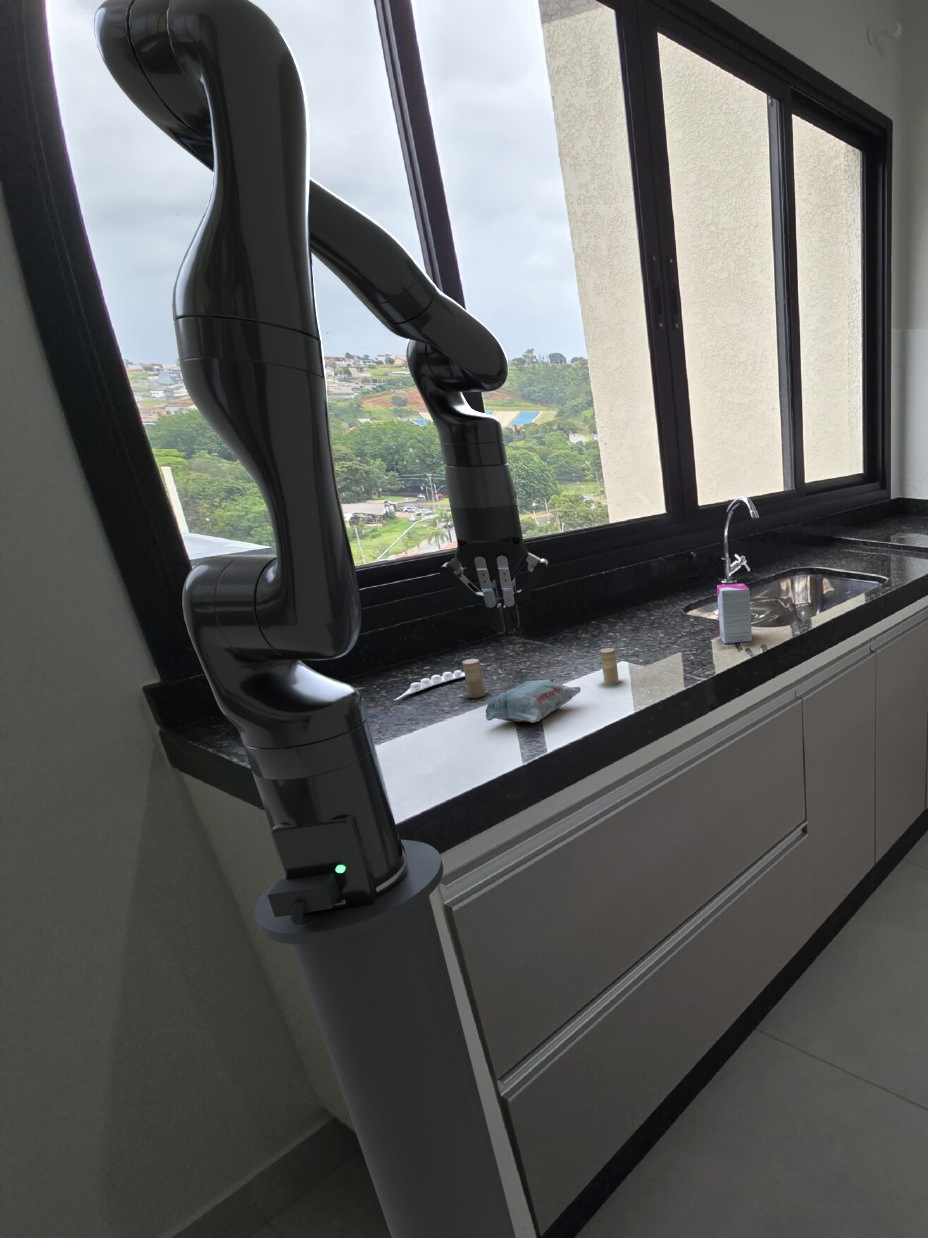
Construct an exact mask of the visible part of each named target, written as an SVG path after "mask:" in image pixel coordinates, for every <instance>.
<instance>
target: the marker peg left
mask: <svg viewBox="0 0 928 1238" xmlns="http://www.w3.org/2000/svg"><path fill="white" fill-rule="evenodd" d="M462 668H463V672H464V674H465V677H464V679H465V683H466V688H467V694H468V697H469V698H471V699H477V698H481V697H484V696H485V695H486V689H485V683H484V678H483V673H482V668H481V664H480V659H478V658H470V659H469V658H468V659H465V660H463V661H462Z"/></svg>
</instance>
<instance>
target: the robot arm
mask: <svg viewBox="0 0 928 1238" xmlns="http://www.w3.org/2000/svg"><path fill="white" fill-rule="evenodd" d="M93 33H94V38H95V41H96V42H95V43H96V47H97V49H98V51H99V55H100V57H101V59H102V61H103V63H104V65H105V67H106V69H107V70H108V72H109V74H110V75H111V77H112V79H113V80H114V82H115V83H116V84H117V86H118V87H119V89H120V90H121V92H123V93H124V94H125V95H126V97H127V98H128V99H129V101H130V102H131V103H132V104H133V105H134V106H135V107H136V108H137V109H138V110H139V111H140V112H141V113H142V114H143V115H144V116H145V117H146V118H147V119H149V121H151V122H152V123H153V125H155V126H156V127H157V128H158V129H159V130H160V131H162V132H163V133H164V134H165V135H166V136H168V138H170V139H171V140H172V141H173V142H175V143H176V144H177V145H178V146H179V147H181V148H182V149H183V150H184V151H186V152H187V153H188V154H189V155H191V156H192V157H193V158H195V160H197V161H198V162H199V163H201V164H202V165H203V166H205V167H206V168H207V169H208V170H209V171H211V172H212V173H213V176H212V177H213V178H212V185H211V190H210V195H209V199H208V202H207V205H206V208H205V210H204V213H203V215H202V217H201V219H200V222H199V223H198V226H197V229H196V230H195V233H194V235H193V237H192V239H191V241H190V242H189V245H188V248H187V250H186V252H185V254H184V256H183V258H182V261H181V264H180V266H179V267H178V268H179V269H178V271H177V275H176V279H175V282H174V285H173V289H172V290H173V291H172V302H171V303H172V304H171V305H172V306H171V308H172V321H173V325H174V333H175V340H176V346H177V355H178V361H179V362H178V363H179V368H180V373H181V378H182V382H183V385H184V387H185V390H186V392H187V394H188V396H189V398H190V400H191V401H192V403H193V404H194V406H195V407H196V409H197V410H198V412H199V413H200V415H201V416H202V417H203V418H204V420H205V421H206V422H207V424H208V425H209V427H211V429H212V430H213V431H214V432H215V434H216V435H217V436H218V437H219V438H220V439H221V441H222V442H223V444H225V446H226V447H227V448H228V449H229V450H230V452H231V453H232V454H233V456H235V457H236V459H237V460H238V461H239V462H240V464H241V465H242V466H243V468H244V469H245V471H247V473H248V474H249V475H250V477H251V478H252V480H253V481H254V483H255V484H256V486H257V488H258V490H259V492H260V494H261V496H262V499H263V502H264V504H265V507H266V510H267V514H268V517H269V521H270V525H271V529H272V534H273V539H274V547H275V553H273V554H266V553H265V554H262V553H261V554H260V553H259V554H258V553H256V554H248V553H247V554H244V553H243V554H221V555H214V556H211V557H207V558H205V559H203V560H201V561H199V562H198V563H197V564H195V565H194V566H193V568H191V570H190V571H189V573H188V575H187V576H186V579H185V582H184V584H183V589H182V601H181V603H182V610H183V618H184V622H185V625H186V629H187V633H188V635H189V638H190V641H191V643H192V646H193V648H194V650H195V653H196V655H197V658H198V660H199V662H200V664H201V668H202V669H203V672H204V674H205V677H206V679H207V681H208V684H209V686H210V689H211V691H212V693H213V696H214V699H215V701H216V703H217V705H218V707H219V709H220V711H221V712H222V714H223V716H225V718H226V719H227V720H228V721H229V722H230V723H231V724H233V726H234V727H235V729H236V730H237V731H238V733H239V737H240V740H241V742H242V746H243V748H244V751H245V754H246V758H247V760H248V763H249V764H248V765H249V766H250V769H251V773H252V776H253V779H254V782H255V785H256V788H257V792H258V794H259V797H260V801H261V804H262V807H263V810H264V813H265V816H266V818H267V821H268V824H269V827H270V835H271V838H272V841H273V844H274V848H275V850H276V853H277V857H278V859H279V862H280V863H279V864H280V866H281V868H282V872H283V874H284V875H283V876H285V879H281V878H279V879H278V880H276V882H277V883H276V884H275V885H274V887H273V888H272V889H271V891H270V892H269V893H268V895H267V896H268V899H269V902H270V905H271V907H272V910H273V913H274V916H275V918H276V917H282V916H288V915H291V921H292V923H293V924H294V925H302V924H306V923H308V922H309V921H311V916H310V915H312V914H318V913H324V912H330V911H337V910H343V909H349V908H355V907H361V906H367V905H372V904H374V903H375V901H376V899H377V898H378V897H379V896H381V895H382V894H384V893H386V892H388V891H389V890H391V889H392V888H393V887H395V886H396V885H397V884H398V883H399V882H400V881H401V880H402V879H403V878H404V877H405V875H406V873H407V871H408V865H407V861H406V857H405V855H406V853H405V849H404V846H403V844H402V842H401V840H402V839H401V838H400V836H399V831H398V827H397V824H396V821H395V817H394V813H393V809H392V805H391V801H390V798H389V794H388V790H387V787H386V782H385V779H384V775H383V772H382V768H381V764H380V760H379V757H378V753H377V747H376V745H375V740H374V736H373V732H372V728H371V725H370V721H369V717H368V712H367V709H366V706H365V701H364V697H363V696H362V694H361V692H360V691H359V690H358V689H357V688H356V687H355V686H353V685H351V684H349V683H346V682H343V681H340V680H338V679H335V678H332V677H329V676H326V675H324V674H322V673H320V672H318V671H316V670H314V669H312V668H311V667H309V666H308V665H307V664H305V663H304V662H303V661H327V660H329V661H330V660H336V659H339V658H342V657H343V656H345V655H347V654H348V653H349V652H350V651H351V650H352V649H353V648H354V646H355V645H356V643H357V641H358V640H359V636H360V633H361V627H362V617H363V613H362V612H363V609H362V608H363V607H362V606H363V605H362V598H361V590H360V584H359V579H358V573H357V570H356V569H357V568H356V564H355V560H354V555H353V551H352V547H351V542H350V538H349V533H348V529H347V524H346V519H345V515H344V511H343V506H342V501H341V500H342V499H341V495H340V489H339V484H338V479H337V471H336V464H335V463H336V462H335V457H334V450H333V442H332V433H331V425H330V424H331V423H330V414H329V400H328V399H329V398H328V386H327V385H328V384H327V375H326V365H325V357H324V348H323V340H322V334H321V329H320V322H319V317H318V316H319V315H318V309H317V300H316V290H315V289H316V288H315V278H314V267H313V256H314V257H315V258H317V260H318V261H320V262H321V263H322V264H323V265H324V266H325V267H326V268H327V269H328V270H329V271H330V272H332V274H333V275H334V276H335V277H336V278H337V279H338V280H339V281H340V282H341V283H342V284H343V285H344V286H345V287H346V288H347V289H348V290H349V291H350V292H351V293H352V294H353V295H354V296H355V297H356V299H358V301H359V302H360V303H361V304H362V305H363V306H364V307H365V308H366V309H367V310H368V311H369V312H370V313H371V314H372V315H373V316H374V317H375V319H377V320H378V321H379V322H380V323H381V325H383V326H384V327H385V328H386V329H387V330H388V331H389V332H391V334H394V335H396V336H398V337H400V338H402V339H405V340H407V343H406V347H405V359H406V365H407V369H408V371H409V374H410V377H411V378H412V380H413V383H414V385H415V387H416V389H417V391H418V394H419V395H420V397H421V399H422V402H423V403H424V405H425V408H426V410H427V412H428V414H429V416H430V418H431V420H432V422H433V425H434V426H435V428H436V431H437V433H438V439H439V445H440V446H439V447H440V450H441V456H442V460H443V465H444V477H445V479H444V480H445V487H446V493H447V498H448V502H449V508H450V513H451V518H452V523H453V528H454V533H455V539H456V544H457V545H456V549H455V551H454V558H452V559H451V560H450V561H449V562H445V563H444V564H442V565H441V566H440V567H439V568H438V572H439V574H440V575H441V576H442V577H443V578H444V579H445V580H446V581H447V582H448V583H449V584H451V586H453V588H454V589H456V590H457V591H458V592H459V593H460V594H461V595H462V596H463V597H465V599H467V600H468V602H470V603H471V604H474V605H476V604H479V605H483V606H484V607H486V610H487V614H488V619H489V625H490V628H491V629H492V631H496V634H497V635H504V634H505V632H506V630H507V633H508V634H515V632H516V631H517V629H518V628H520V625H521V618H520V614H519V606H518V604H519V603H520V602H521V603H522V602H527V600H529V598H530V596H531V595H532V593H533V591H534V589H535V588H536V587H537V585H538V583H539V581H540V580H541V578H542V577H543V575H544V573H545V571H546V570H547V568H548V566H549V564H550V563H549V560H548V559H546V558H545V557H543V558H540V557H538V556H536V555H534V554H533V553H531V552H530V548H529V547H528V545H527V544H526V542H525V540H524V538H523V537H524V536H523V530H522V525H521V524H522V523H521V519H520V513H519V507H518V506H519V505H518V501H517V499H518V495H517V491H516V489H515V483H514V479H513V476H512V473H511V469H510V466H509V461H508V454H507V448H506V442H505V436H504V435H505V434H504V431H503V426H502V424H501V422H500V420H499V419H498V418H496V417H495V416H493V415H490V414H487V413H483V412H479V411H476V410H475V409H472V408H471V406H470V405H469V404H468V402H467V401H466V399H465V397H464V395H463V394H462V393H489V392H495V391H497V390H500V389H501V388H502V387H503V386H504V385H505V384H506V382H507V379H508V377H509V360H508V357H507V355H506V352H505V350H504V348H503V346H502V344H501V343H500V341H499V340H498V338H497V337H496V336H495V334H494V333H493V332H492V331H491V330H490V329H489V328H488V327H487V326H486V325H485V324H484V323H482V322H481V321H480V320H479V319H477V317H475V316H474V315H473V314H471V313H470V312H469V311H467V310H466V309H464V308H463V306H462V305H460V304H459V303H458V302H456V301H455V300H454V299H453V298H451V297H449V296H448V295H446V294H445V293H444V292H442V291H441V290H440V289H439V288H438V287H437V285H436V283H434V282H433V281H432V280H431V278H430V277H429V275H428V274H427V273H426V272H425V271H424V269H423V268H422V267H421V266H420V264H419V263H418V262H417V261H416V259H414V257H413V255H412V254H410V252H409V251H408V250H407V249H406V247H405V246H404V245H403V244H401V242H400V241H399V240H398V239H397V238H396V237H395V236H393V235H392V234H391V233H390V232H389V231H388V230H386V229H385V228H384V227H383V226H381V225H380V224H379V223H378V222H376V221H375V220H374V219H372V218H371V217H370V216H368V215H367V214H366V213H364V212H362V211H361V210H360V209H358V208H356V207H355V206H354V205H352V204H350V203H349V202H348V201H346V200H344V199H343V198H341V197H340V196H338V195H337V194H335V193H334V192H332V191H331V190H329V189H328V188H326V187H324V185H322V184H320V183H319V182H318V181H316V180H314V179H313V178H312V177H311V176H310V119H309V108H308V101H307V95H306V89H305V84H304V81H303V78H302V74H301V72H300V68H299V65H298V63H297V60H296V58H295V55H294V53H293V50H292V49H291V47H290V45H289V43H288V41H287V40H286V38H285V36H284V35H283V33H282V31H281V30H280V29H279V27H278V26H277V25H276V24H275V22H274V21H273V20H272V18H270V16H269V15H268V14H267V13H266V12H265V11H264V10H263V9H262V8H260V7H259V6H258V5H257V4H255V3H253V2H252V1H251V0H104V1H103V2H102V3H101V4H100V6H98V8H97V9H96V11H95V13H94V17H93ZM525 562H527V567H526V568H527V571H528V572H530V575H529V577H528V578H527V580H526V581H525V583H524V584H523V586H522V588H521V589H519V590H517V587H516V576H517V575H518V574H519V572H520V570H521V569H522V567H523V566H524V564H525ZM463 567H464V568H465V569H466V570H467V571H468V572H469V573H470V574H471V575H473V576H474V577H475V578H476V579H478V581H479V585H480V589H481V590H480V589H479V588H478V587H477V586H476V585H474V583H473V582H472V581H471V580H469V579H468V578H467V576H465V575H464V573H465V569H464V568H463ZM497 581H499V582H500V589H501V590H502V596H503V603H504V606H503V605H502V603H500V602H499V601H500V597H499V593H498V589H497ZM502 606H503V607H502ZM402 848H403V850H402ZM403 851H404V853H405V855H404V853H403Z"/></svg>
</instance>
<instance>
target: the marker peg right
mask: <svg viewBox="0 0 928 1238" xmlns="http://www.w3.org/2000/svg"><path fill="white" fill-rule="evenodd" d="M599 654H600V660H601V668H602V669H601V670H602V677H603V683H604V685H615V684H618V683H619V682H620V678H619V671H618V670H619V669H618V663H617V656H616V654H617V653H616V649H615V648H612V647H606V648H602V649H600V650H599Z"/></svg>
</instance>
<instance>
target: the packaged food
mask: <svg viewBox="0 0 928 1238" xmlns="http://www.w3.org/2000/svg"><path fill="white" fill-rule="evenodd" d="M580 692H581V687H580V686H571V687H570V686H567V685H564V684H562V683H559V682H555V681H554V680H553V679H540V680H539V679H538V680H526V681H524V682H523V683H521V684H519V685H517V686H515V687H513V688H510V689H509V690H507V691H505V692H503V693H501V694H499V695H498V696H496V697H495V698H493V699H492V700H490V701H489V702H488V704H487V706H486V709H485V720H487V721H492V720H494V719H497V720H502V721H507V722H514V723H515V722H517V723H532V724H533V723H534V724H535V723H538V722H540V721H541V720H542V719H544V718H545V717H546V716H548V715H549V714H552V713H554V712H555V711H557V710H558V709H559V708H560V707H562V706H564V705H565V704H567V703H568V702H570V701H572V699H573V698H574V697H576V695H578V694H579V693H580Z"/></svg>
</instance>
